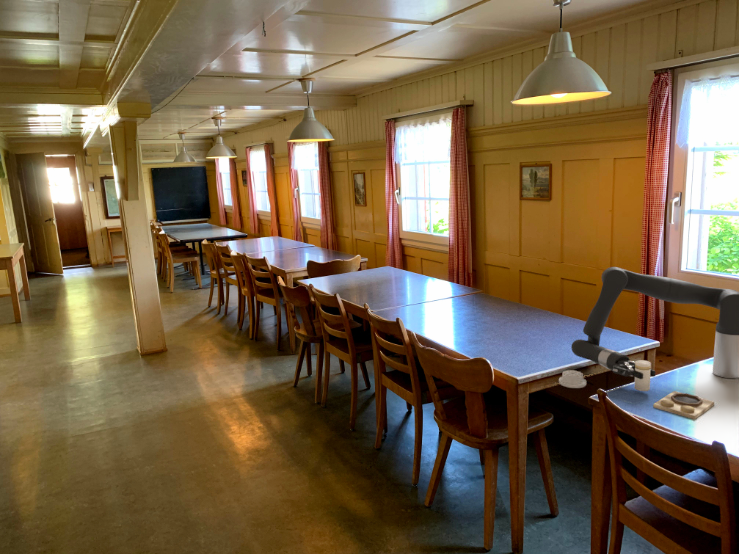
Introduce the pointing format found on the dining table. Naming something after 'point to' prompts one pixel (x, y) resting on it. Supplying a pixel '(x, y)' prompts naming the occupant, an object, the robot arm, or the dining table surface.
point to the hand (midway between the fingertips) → (648, 375)
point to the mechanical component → (572, 379)
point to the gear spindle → (645, 369)
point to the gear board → (684, 404)
